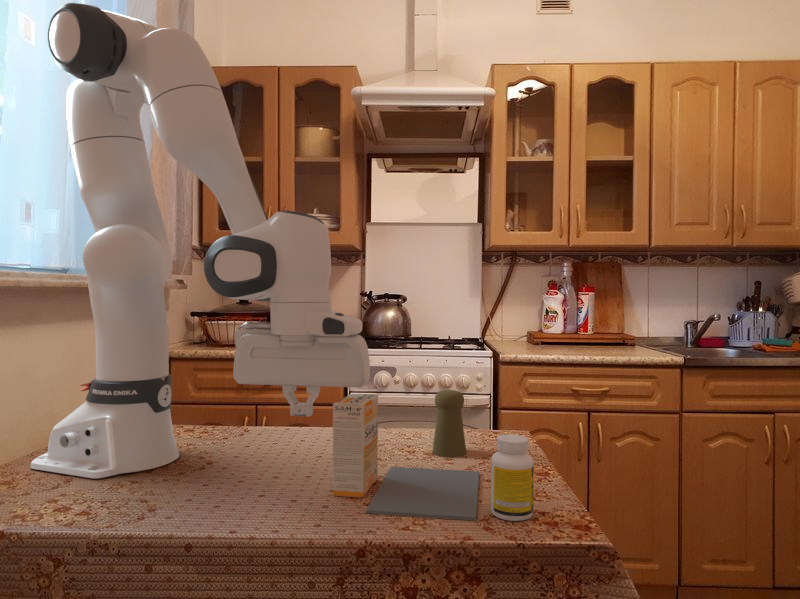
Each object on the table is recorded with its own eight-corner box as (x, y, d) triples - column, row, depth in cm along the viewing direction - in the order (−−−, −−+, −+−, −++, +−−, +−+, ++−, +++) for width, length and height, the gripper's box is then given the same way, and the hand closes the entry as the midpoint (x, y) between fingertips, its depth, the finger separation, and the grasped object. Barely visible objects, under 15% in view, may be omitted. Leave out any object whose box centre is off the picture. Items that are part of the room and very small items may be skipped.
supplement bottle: (540, 521, 69) (540, 442, 69) (498, 523, 68) (499, 444, 68) (523, 504, 74) (524, 431, 74) (484, 507, 73) (485, 433, 73)
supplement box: (365, 499, 76) (365, 404, 76) (331, 496, 77) (331, 402, 77) (379, 479, 84) (379, 393, 84) (348, 477, 85) (348, 392, 85)
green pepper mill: (473, 453, 98) (473, 391, 97) (446, 459, 94) (447, 395, 94) (451, 445, 103) (451, 386, 102) (425, 451, 99) (425, 389, 99)
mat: (366, 513, 71) (366, 510, 71) (391, 469, 89) (391, 466, 89) (475, 520, 69) (475, 517, 69) (479, 474, 87) (479, 471, 87)
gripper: (225, 322, 80) (225, 417, 80) (362, 323, 77) (362, 423, 77) (244, 320, 86) (245, 408, 87) (372, 321, 83) (372, 413, 83)
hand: (301, 415), depth 82 cm, fingers closed
